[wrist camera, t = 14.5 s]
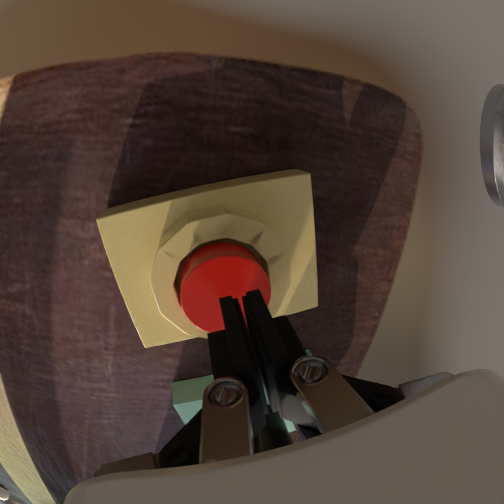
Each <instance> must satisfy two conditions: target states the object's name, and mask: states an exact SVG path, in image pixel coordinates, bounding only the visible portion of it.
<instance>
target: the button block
mask: <svg viewBox="0 0 504 504" xmlns="http://www.w3.org/2000/svg"><path fill="white" fill-rule="evenodd" d="M96 221H97V224H98V228H99V231H100V234H101V237H102V240H103V244H104V247H105V250H106V253H107V256H108V258H109V261H110V264H111V267H112V270H113V273H114V275H115V278H116V281H117V283H118V286H119V288H120V291H121V294H122V296H123V299H124V301H125V304H126V306H127V308H128V311H129V313H130V316H131V318H132V320H133V322H134V325H135V327H136V329H137V332H138V334H139V336H140V338H141V340H142V342H143V345H144V347H145V348H147V347H152V346H157V345H163V344H168V343H173V342H178V341H183V340H187V339H192V338H197V337H202V338H207V339H208V336H207V333H210V332H206V331H204V330H202V329H200V328H198V327H196V326H195V325H194V324H193V323H191V322H190V321H189V319H188V318H187V317H186V315H185V314H184V312H183V309H182V306H181V300H180V276H181V272H182V269H183V266H184V265H185V263H186V261H187V260H188V259H189V257H190V256H191V255H192V254H193V253H195V252H196V251H197V250H199V249H201V248H202V247H204V246H207V245H209V244H213V243H218V242H229V243H235V244H238V245H241V246H243V247H245V248H247V249H248V250H250V251H251V252H252V253H253V254H254V255H255V256H256V258H257V259H258V261H259V262H260V264H261V266H262V267H263V269H264V271H265V272H266V274H267V276H268V278H269V281H270V284H271V298H270V302H269V305H268V309H269V311H270V313H271V316H272V318H274V317H278V316H282V315H290V314H293V313H297V312H300V311H304V310H307V309H311V308H314V307H317V306H318V285H317V260H316V240H315V224H314V210H313V197H312V185H311V175H310V173H307V172H304V171H301V170H298V169H290V170H284V171H277V172H271V173H265V174H259V175H253V176H248V177H242V178H237V179H232V180H226V181H221V182H216V183H211V184H206V185H202V186H197V187H192V188H188V189H183V190H179V191H174V192H170V193H166V194H162V195H157V196H153V197H149V198H145V199H141V200H137V201H134V202H130V203H126V204H122V205H119V206H115V207H111V208H108V209H105V210H104V212H103V213H102V214H101V215H100V216H99V217H98V218H97V219H96Z"/></svg>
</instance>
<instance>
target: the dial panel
mask: <svg viewBox="0 0 504 504" xmlns="http://www.w3.org/2000/svg"><path fill="white" fill-rule="evenodd" d="M305 351H306V353H307V355H308V356H310V355H312V353H311V352H310V350H309V349H307V350H305ZM212 381H214V377H213V375H208V376H203V377H198V378H193V379H188V380H183V381H178V382H172V394H173V405H174V407H175V409H176V410H177V412H178V414H179V416H180V417H181V419H182V421H183V422H184V424H185V425H186V424H187V423H188V422H189V421H190V420H191V419H192V418H193V417H194V416H195V414H196V413H197V412H198V411H199V410H200V409H201V408H202V401H203V393H204V390H205V388H206V387H207V385H208V384H210V383H211V382H212ZM263 386H264V385H263ZM264 391H265V388H264ZM265 397H266V402H267V404H270V402H269V399H268V397H267V394H266V391H265ZM284 422H285V424H286V427H287V429H288V432H291V431H294V430H296V429H295V427H294V424H293V422H291V421H288V420H285V419H284Z"/></svg>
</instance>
